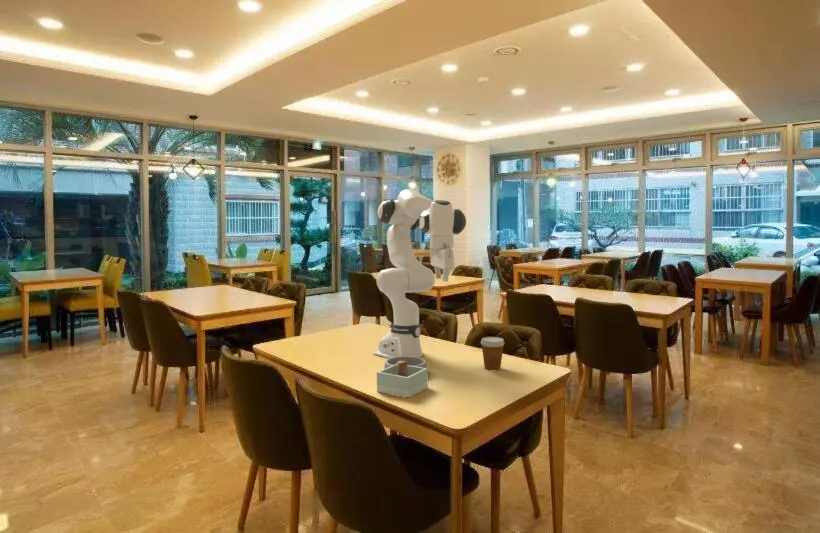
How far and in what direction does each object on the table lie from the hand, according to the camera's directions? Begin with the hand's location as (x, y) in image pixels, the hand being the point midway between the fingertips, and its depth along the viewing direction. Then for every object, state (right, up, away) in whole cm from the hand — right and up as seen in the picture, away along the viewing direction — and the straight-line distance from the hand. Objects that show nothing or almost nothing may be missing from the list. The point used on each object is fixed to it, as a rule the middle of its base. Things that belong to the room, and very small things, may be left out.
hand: (441, 279), depth 199 cm
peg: (-15, -39, -13) cm, 43 cm away
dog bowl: (-14, -37, +7) cm, 40 cm away
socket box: (-15, -39, -13) cm, 43 cm away
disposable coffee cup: (+21, -36, +12) cm, 43 cm away
